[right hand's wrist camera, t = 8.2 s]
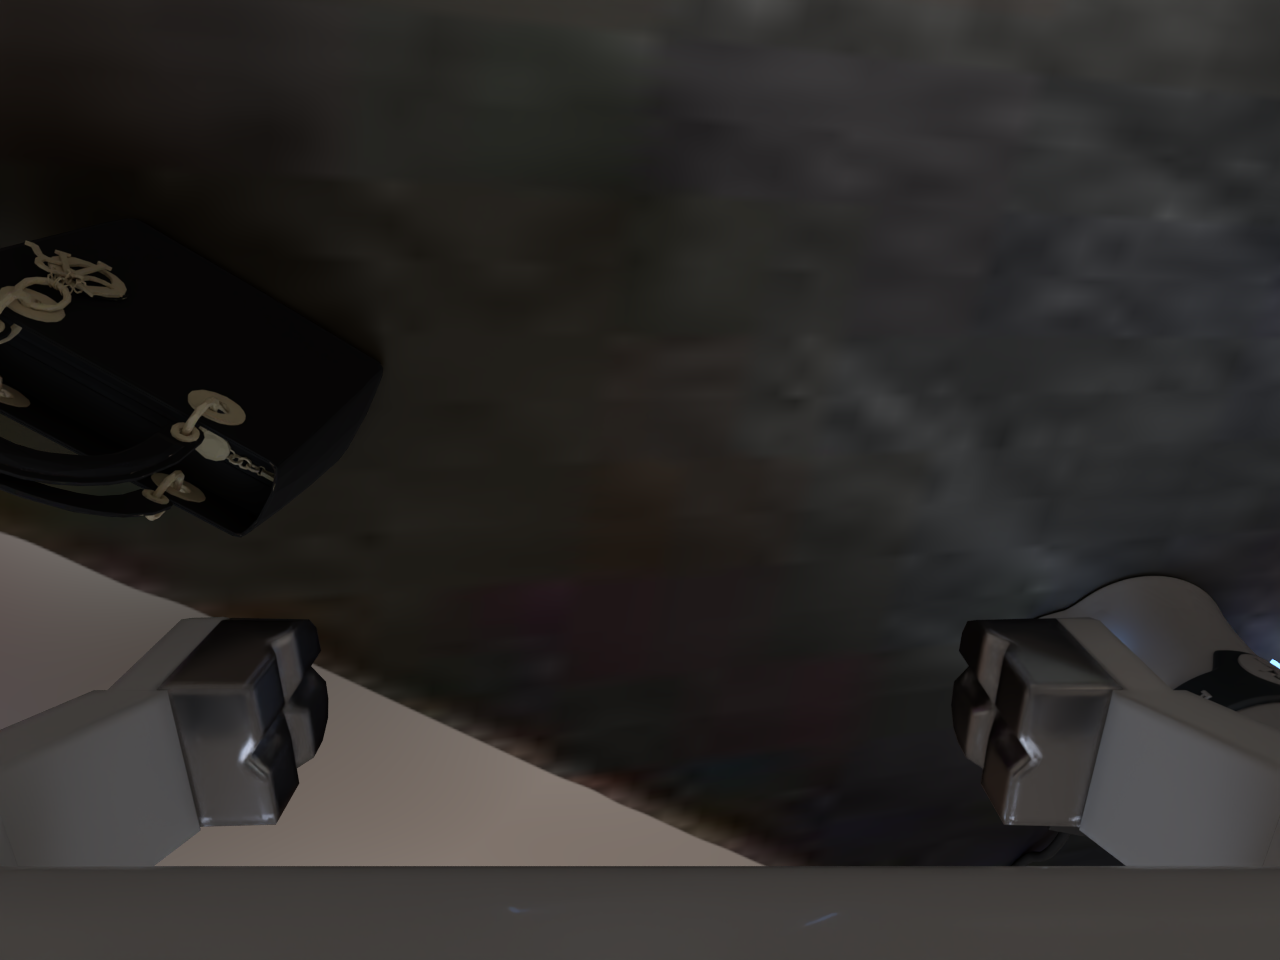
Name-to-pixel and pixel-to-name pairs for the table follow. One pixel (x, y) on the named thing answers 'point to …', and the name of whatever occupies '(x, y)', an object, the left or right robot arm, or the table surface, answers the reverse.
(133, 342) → the handbag
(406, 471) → the table surface
